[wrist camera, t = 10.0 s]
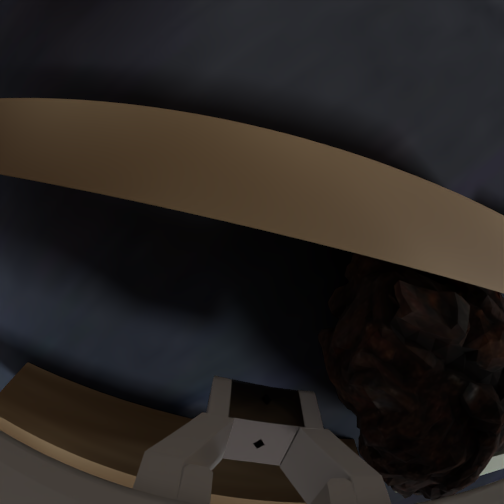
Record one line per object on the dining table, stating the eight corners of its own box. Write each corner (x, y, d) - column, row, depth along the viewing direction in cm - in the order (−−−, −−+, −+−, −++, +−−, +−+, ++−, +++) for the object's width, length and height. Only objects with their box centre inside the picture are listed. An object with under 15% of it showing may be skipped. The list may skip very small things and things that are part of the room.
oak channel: (31, 108, 9) (-40, 100, 5) (460, 206, 10) (530, 229, 6) (33, 389, 13) (-2, 435, 9) (338, 461, 14) (351, 519, 10)
